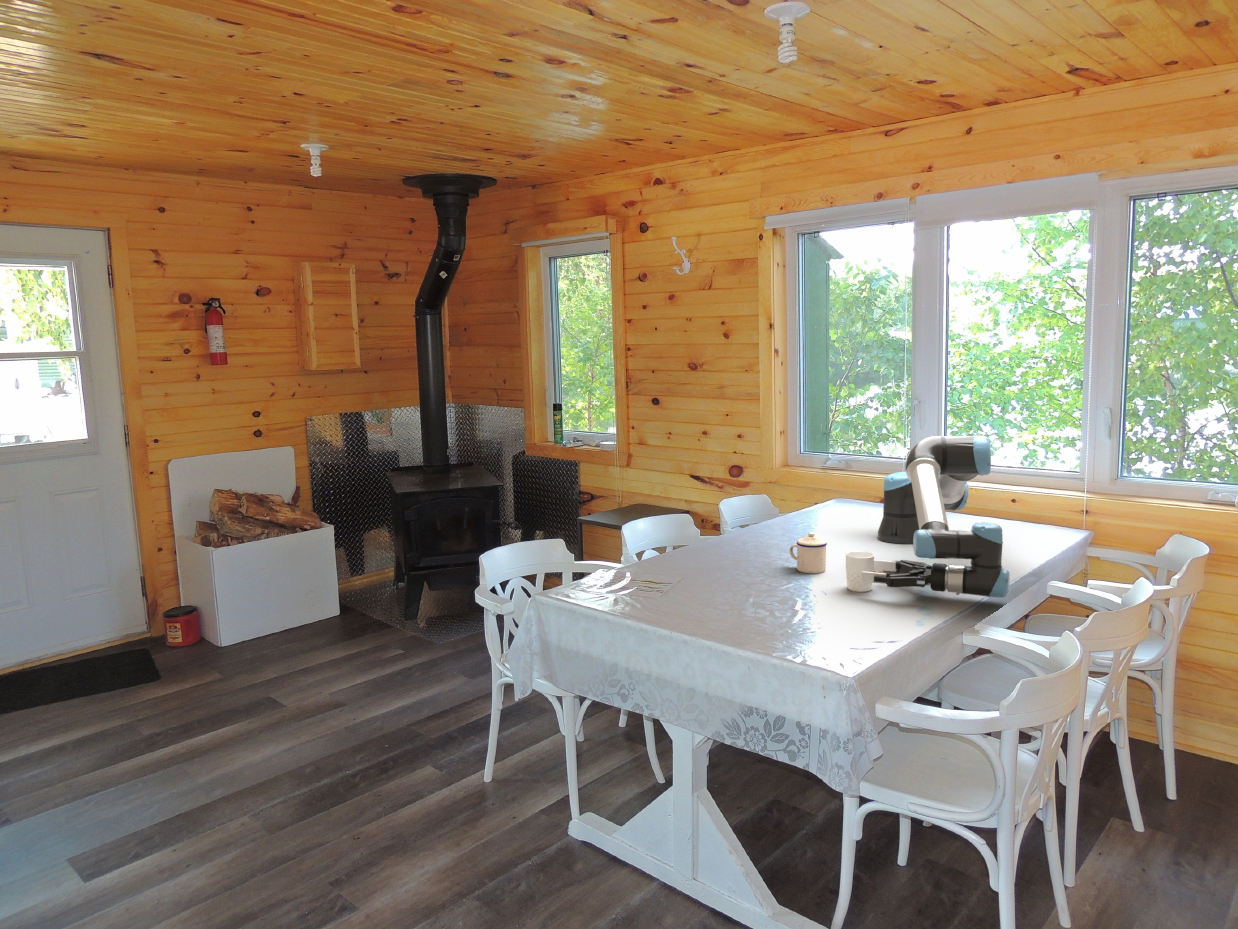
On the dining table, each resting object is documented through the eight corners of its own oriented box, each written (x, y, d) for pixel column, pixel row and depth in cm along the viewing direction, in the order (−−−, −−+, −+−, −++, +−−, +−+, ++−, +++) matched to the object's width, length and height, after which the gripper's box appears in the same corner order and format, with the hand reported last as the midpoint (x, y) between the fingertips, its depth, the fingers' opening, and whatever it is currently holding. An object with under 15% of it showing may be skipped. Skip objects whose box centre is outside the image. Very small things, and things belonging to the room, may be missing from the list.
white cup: (841, 585, 257) (841, 551, 255) (867, 584, 257) (868, 550, 256) (850, 593, 249) (851, 558, 248) (878, 592, 250) (878, 557, 248)
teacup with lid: (831, 569, 274) (832, 532, 273) (817, 575, 267) (817, 537, 266) (797, 563, 282) (797, 527, 280) (782, 569, 275) (782, 532, 273)
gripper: (940, 604, 231) (857, 595, 240) (952, 579, 253) (876, 572, 262) (941, 576, 230) (857, 568, 239) (953, 554, 252) (876, 547, 261)
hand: (867, 570), depth 251 cm, fingers open, 13 cm apart
